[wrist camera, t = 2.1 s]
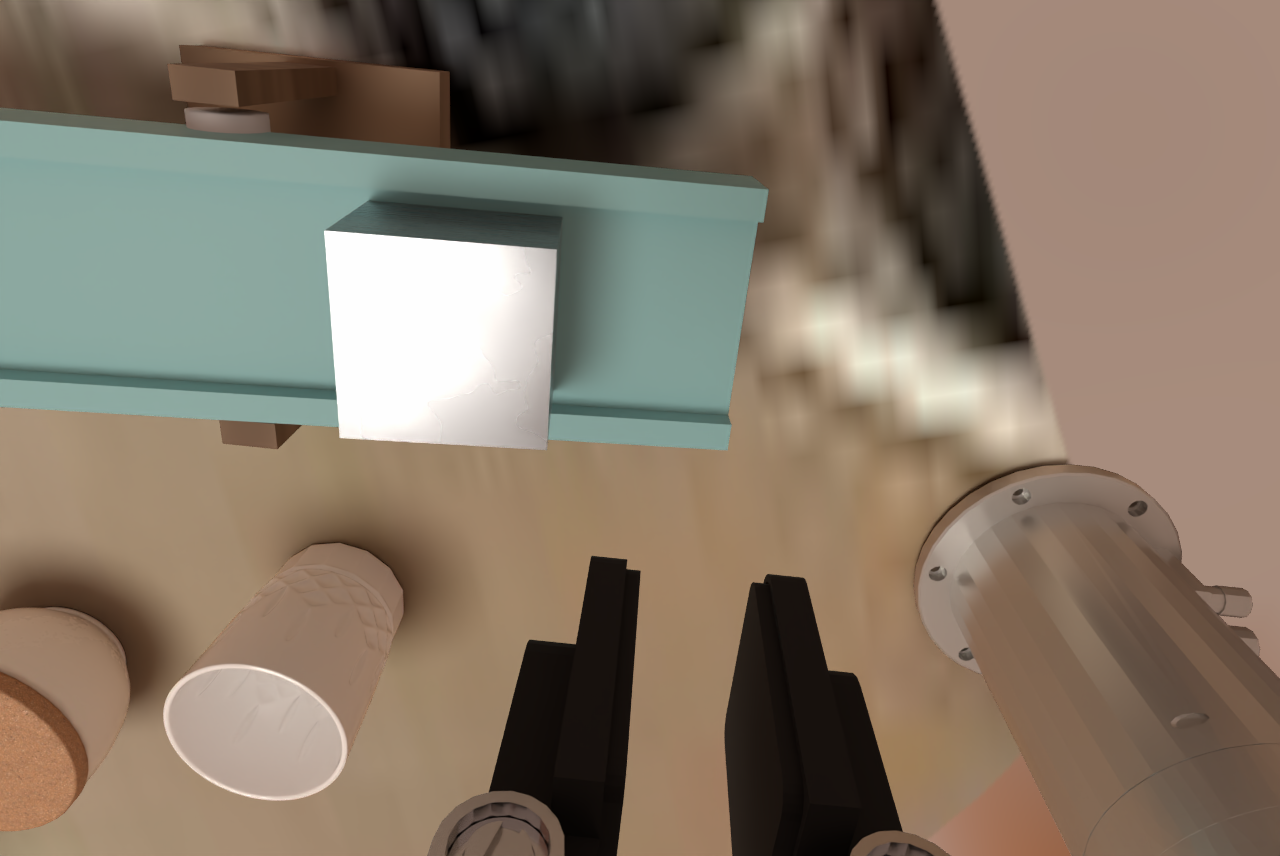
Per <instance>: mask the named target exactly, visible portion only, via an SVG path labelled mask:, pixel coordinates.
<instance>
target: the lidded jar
mask: <svg viewBox="0 0 1280 856" xmlns="http://www.w3.org/2000/svg"><path fill="white" fill-rule="evenodd" d="M126 665H127V664H126V655H125V651H124V649H123V647H122V645H121V643H120V641H119V640H118V638H117V637H116V636H115V635H114V634H113V632H112V631H110V630H109V629H108V628H107V627H106V626H105V625H104V624H102V623H101V622H100V621H98V620H96V619H95V618H93V617H91V616H89V615H87V614H85V613H83V612H80V611H77V610H73V609H69V608H63V607H46V608H14V609H8V610H2V611H0V831H19V830H26V829H31V828H35V827H39V826H42V825H45V824H47V823H49V822H51V821H53V820H55V819H57V818H58V817H59V816H61V815H62V814H63V813H65V812H66V811H67V809H68V808H69V807H70V806H71V805H72V803H73V802H74V801H75V800H76V799H77V797H78V796H79V795H80V793H81V792H82V790H83V788H84V786H85V784H86V782H87V781H88V780H89V779H90V777H91V776H92V775H93V774H94V772H95V771H96V770H97V768H98V767H99V766H100V764H101V763H102V762H103V760H104V759H105V757H106V756H107V754H108V752H109V751H110V749H111V748H112V746H113V744H114V742H115V740H116V738H117V736H118V734H119V732H120V730H121V728H122V726H123V724H124V721H125V718H126V714H127V710H128V706H129V701H130V680H129V676H128V671H127V667H126Z"/></svg>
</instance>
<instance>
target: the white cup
mask: <svg viewBox="0 0 1280 856" xmlns="http://www.w3.org/2000/svg"><path fill="white" fill-rule="evenodd" d="M403 614H404V605H403V589H402V588H401V586H400V584H399V583H398V581H397V579H396V577H395V576H394V574H393V572H392V571H391V569H390V568H389V567H388V566H387V565H385V564H384V563H383V562H381V561H380V560H379V559H377V558H376V557H375V556H373V555H372V554H371V553H369V552H368V551H366V550H362V549H359V548H355V547H352V546H349V545H345V544H342V543H330V544H318V545H311V546H309V547H308V548H306V549H304V550H302V551H301V552H299V553H297V554H296V555H294V556H292V557H291V558H290V559H289V560H288V561H287V562H286V563H285V564H284V565H283V567H282V568H281V569H280V570H279V571H278V572H277V574H276V575H275V576H274V577H273V578H272V580H271V581H269V582H268V583H267V584H266V585H265V586H264V587H263V588H262V589H260V590H259V591H258V592H257V593H256V594H255V596H254V597H253V598H252V599H251V600H250V601H249V603H248V604H247V605H246V606H245V607H244V608H243V609H242V610H241V611H240V612H239V613H238V614H237V615H236V616H235V617H234V618H233V619H232V621H231V622H230V623H229V624H228V625H227V626H226V627H225V629H224V630H223V631H222V632H221V633H220V634H219V636H218V637H217V638H216V639H215V640H214V641H213V642H212V644H211V645H210V646H209V647H208V648H207V649H206V650H205V652H204V653H203V654H202V655H201V656H200V657H199V658H198V660H197V661H196V662H195V663H194V664H193V665H192V666H191V667H190V669H189V670H188V671H187V672H186V673H185V674H184V675H183V676H182V678H181V679H180V680H179V681H178V682H177V683H176V684H175V685H174V687H173V688H172V689H171V691H170V692H169V694H168V696H167V699H166V701H165V705H164V711H163V720H164V726H165V730H166V733H167V736H168V738H169V740H170V742H171V744H172V746H173V748H174V749H175V751H176V752H177V753H178V755H179V756H180V757H181V758H182V759H183V760H184V762H185V763H186V764H187V765H188V766H190V767H191V768H192V769H193V770H194V771H195V772H197V773H198V774H199V775H201V776H202V777H204V778H205V779H207V780H208V781H210V782H212V783H213V784H215V785H217V786H219V787H221V788H223V789H226V790H228V791H231V792H233V793H236V794H239V795H243V796H247V797H251V798H256V799H263V800H292V799H298V798H303V797H307V796H310V795H312V794H315V793H317V792H319V791H321V790H323V789H324V788H326V787H327V786H329V785H330V784H331V783H332V782H333V781H334V780H335V779H336V778H337V777H338V776H339V774H340V773H341V771H342V770H343V768H344V765H345V763H346V760H347V758H348V756H349V753H350V751H351V748H352V746H353V743H354V741H355V738H356V736H357V734H358V731H359V729H360V726H361V724H362V722H363V719H364V717H365V714H366V712H367V709H368V707H369V705H370V702H371V700H372V697H373V695H374V692H375V690H376V687H377V684H378V682H379V679H380V675H381V673H382V671H383V669H384V666H385V663H386V661H387V658H388V655H389V651H390V647H391V643H392V640H393V638H394V635H395V633H396V631H397V628H398V626H399V624H400V621H401V619H402V617H403Z"/></svg>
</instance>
